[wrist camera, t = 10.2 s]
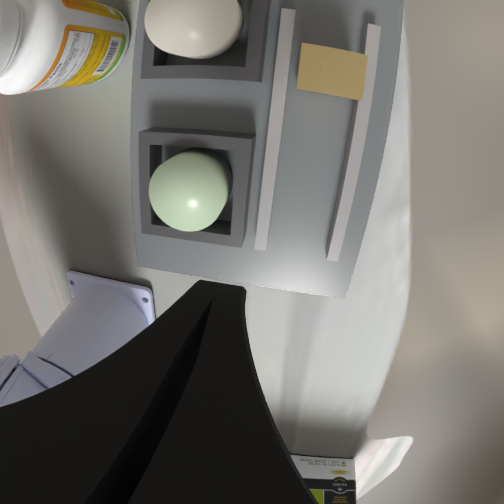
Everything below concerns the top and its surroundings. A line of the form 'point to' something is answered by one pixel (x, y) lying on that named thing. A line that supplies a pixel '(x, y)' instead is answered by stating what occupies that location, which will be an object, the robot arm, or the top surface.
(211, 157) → the sage button
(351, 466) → the tea box
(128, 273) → the top surface
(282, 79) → the panel
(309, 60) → the tan wooden block
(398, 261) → the top surface
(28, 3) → the supplement bottle
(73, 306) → the robot arm
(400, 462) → the top surface
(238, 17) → the white button
